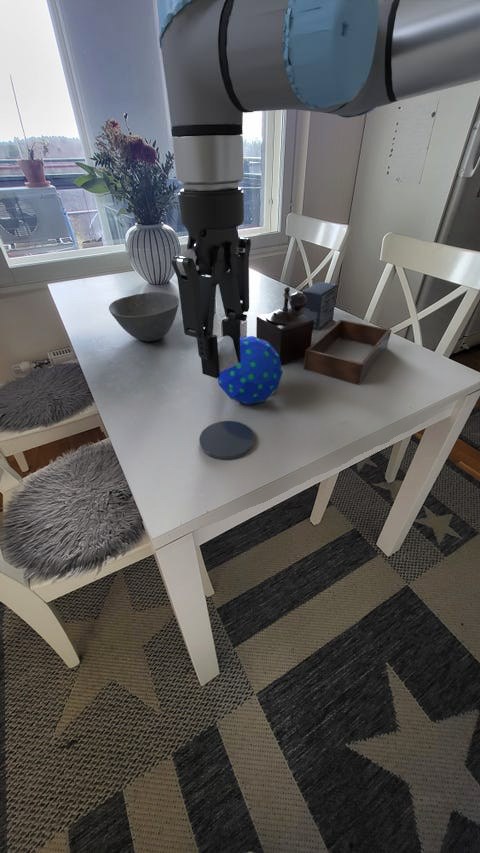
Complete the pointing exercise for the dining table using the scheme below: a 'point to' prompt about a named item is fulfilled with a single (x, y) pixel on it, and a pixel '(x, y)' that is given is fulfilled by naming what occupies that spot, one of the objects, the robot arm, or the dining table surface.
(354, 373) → the open box
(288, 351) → the pepper mill
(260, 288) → the dining table surface
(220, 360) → the gemstone
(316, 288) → the small box
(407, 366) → the dining table surface
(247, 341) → the blue polka dot ball
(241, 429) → the coaster
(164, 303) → the bowl
